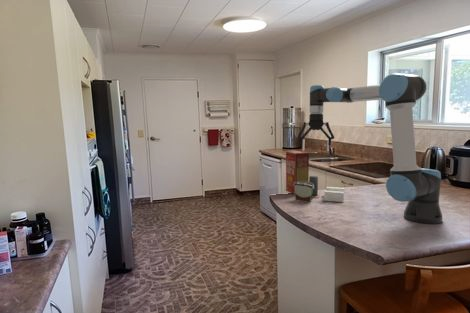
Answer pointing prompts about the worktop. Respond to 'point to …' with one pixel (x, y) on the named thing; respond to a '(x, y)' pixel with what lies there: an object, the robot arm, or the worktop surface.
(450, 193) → the worktop surface
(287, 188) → the food packaging
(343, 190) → the socket block
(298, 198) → the food container
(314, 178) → the dark gray rounded peg
